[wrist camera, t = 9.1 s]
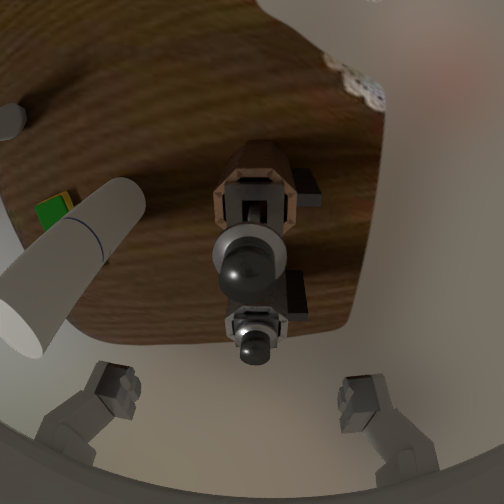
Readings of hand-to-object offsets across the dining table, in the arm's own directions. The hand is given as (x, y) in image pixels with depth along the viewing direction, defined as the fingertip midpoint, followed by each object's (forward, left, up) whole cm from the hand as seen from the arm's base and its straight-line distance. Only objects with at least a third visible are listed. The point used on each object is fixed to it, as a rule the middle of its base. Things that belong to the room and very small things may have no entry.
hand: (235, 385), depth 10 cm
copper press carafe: (0, +1, -29) cm, 29 cm away
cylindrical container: (+4, -19, -29) cm, 35 cm away
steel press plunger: (+14, 0, -25) cm, 28 cm away
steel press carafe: (+14, +1, -29) cm, 32 cm away
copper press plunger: (0, 0, -19) cm, 19 cm away
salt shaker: (-12, -37, -29) cm, 48 cm away
